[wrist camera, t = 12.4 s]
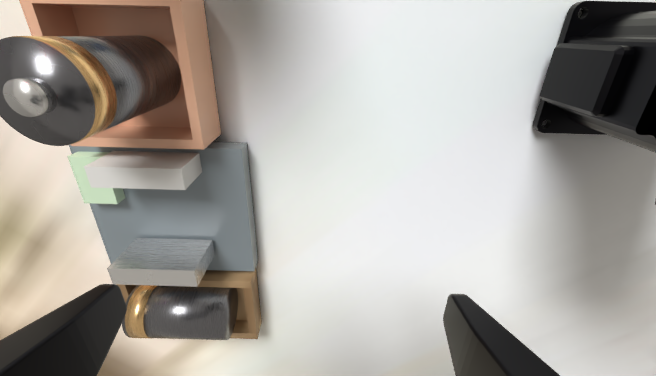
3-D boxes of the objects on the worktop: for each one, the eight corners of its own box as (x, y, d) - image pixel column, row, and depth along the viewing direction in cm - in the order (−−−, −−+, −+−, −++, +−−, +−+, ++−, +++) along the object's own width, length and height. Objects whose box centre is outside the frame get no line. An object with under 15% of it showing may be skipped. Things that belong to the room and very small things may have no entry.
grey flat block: (246, 142, 19) (228, 164, 16) (258, 260, 23) (245, 297, 20) (83, 138, 19) (33, 159, 16) (122, 256, 23) (88, 292, 20)
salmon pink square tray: (203, -1, 16) (178, -7, 13) (221, 134, 19) (203, 149, 16) (65, -4, 16) (15, -11, 13) (105, 131, 19) (70, 145, 17)
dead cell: (186, 107, 18) (95, 153, 11) (122, 105, 18) (-8, 150, 11) (174, 36, 16) (59, 37, 9) (104, 33, 16) (-62, 34, 9)
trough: (256, 266, 23) (250, 281, 22) (261, 321, 26) (257, 338, 25) (127, 263, 24) (114, 277, 22) (145, 318, 26) (134, 335, 25)
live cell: (237, 277, 24) (221, 300, 20) (238, 321, 25) (222, 352, 21) (143, 274, 24) (110, 297, 20) (146, 319, 25) (114, 349, 21)
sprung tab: (212, 239, 21) (194, 270, 18) (214, 254, 21) (197, 286, 19) (136, 237, 21) (107, 268, 18) (140, 252, 21) (113, 284, 19)
